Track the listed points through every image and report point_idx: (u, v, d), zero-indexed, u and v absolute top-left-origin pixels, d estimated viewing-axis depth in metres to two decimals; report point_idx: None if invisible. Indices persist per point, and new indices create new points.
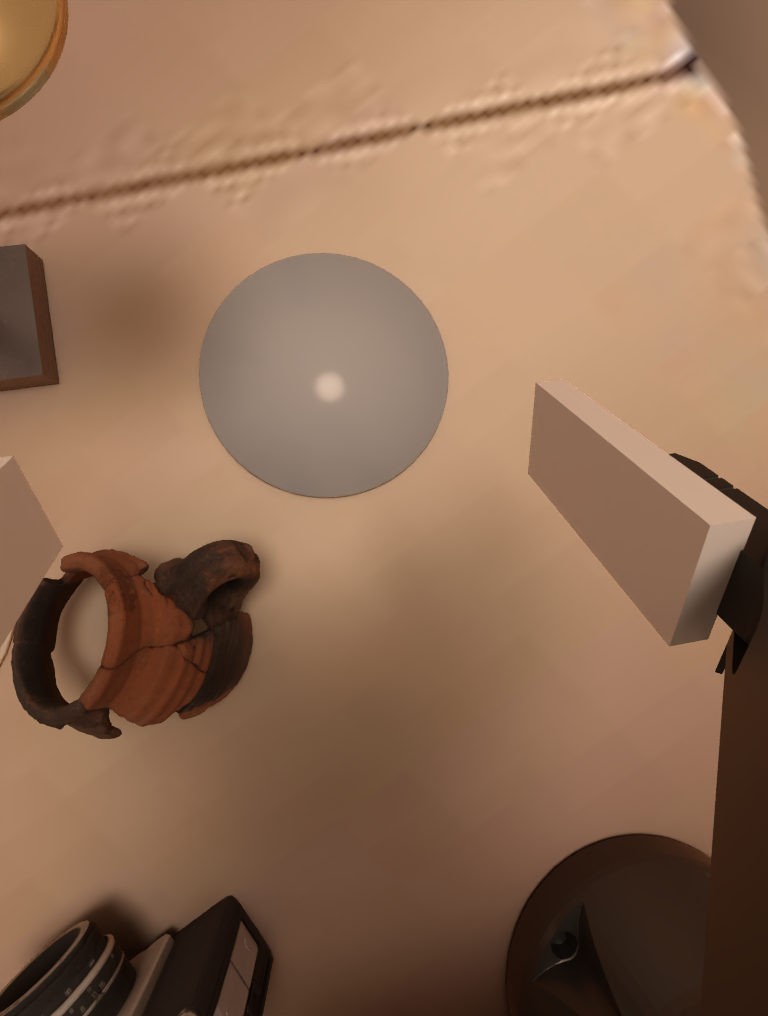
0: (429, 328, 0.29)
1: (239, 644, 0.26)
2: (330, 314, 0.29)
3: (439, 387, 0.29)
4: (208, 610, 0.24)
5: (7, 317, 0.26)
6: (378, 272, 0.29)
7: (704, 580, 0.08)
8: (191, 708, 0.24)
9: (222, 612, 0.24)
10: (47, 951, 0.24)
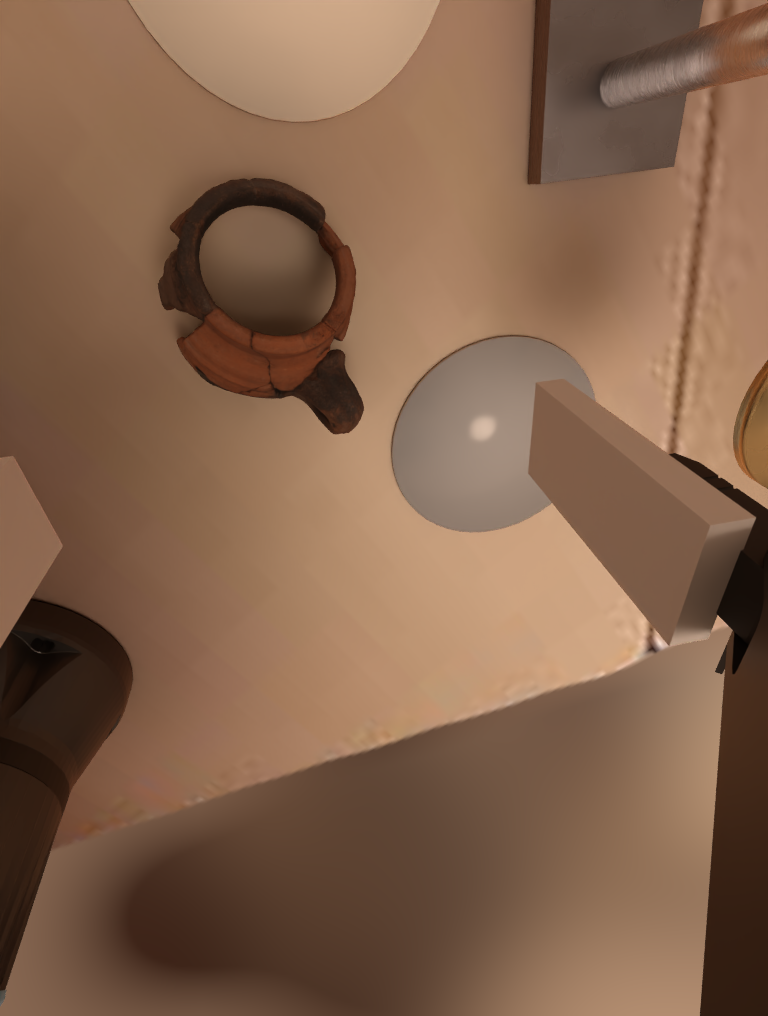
0: (518, 517, 0.37)
1: None
2: None
3: (472, 526, 0.37)
4: None
5: (606, 142, 0.24)
6: None
7: (704, 580, 0.08)
8: (200, 374, 0.24)
9: (293, 394, 0.26)
10: None
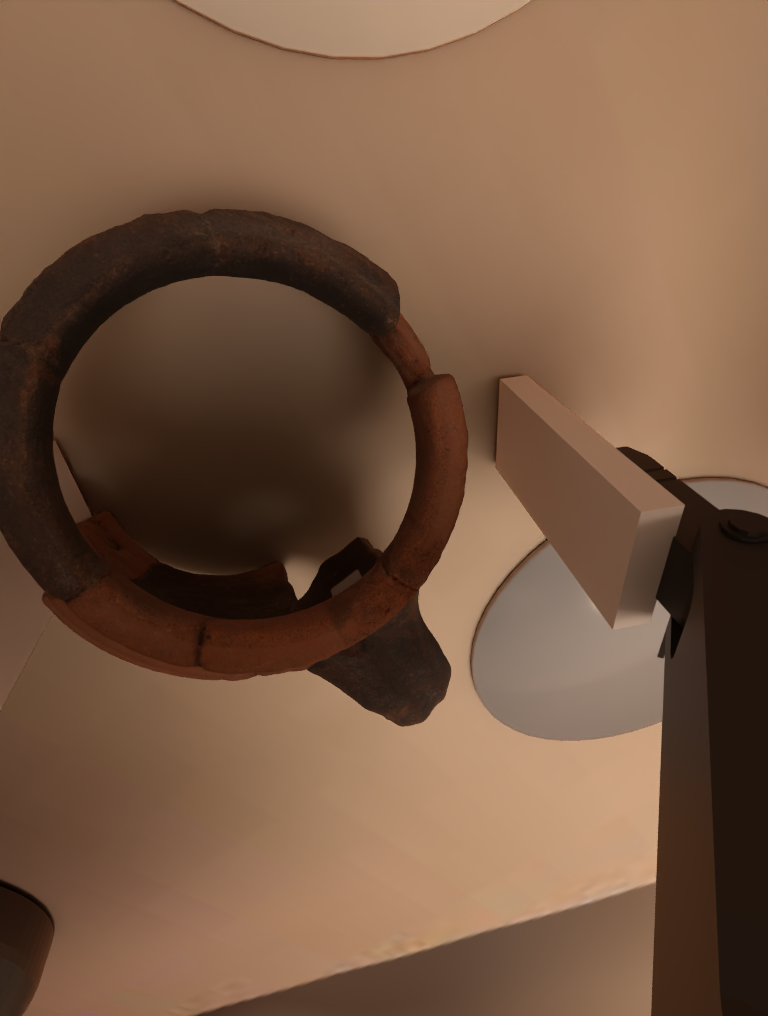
0: (653, 719, 0.24)
1: None
2: None
3: (582, 734, 0.24)
4: None
5: None
6: None
7: (640, 565, 0.09)
8: None
9: None
10: None
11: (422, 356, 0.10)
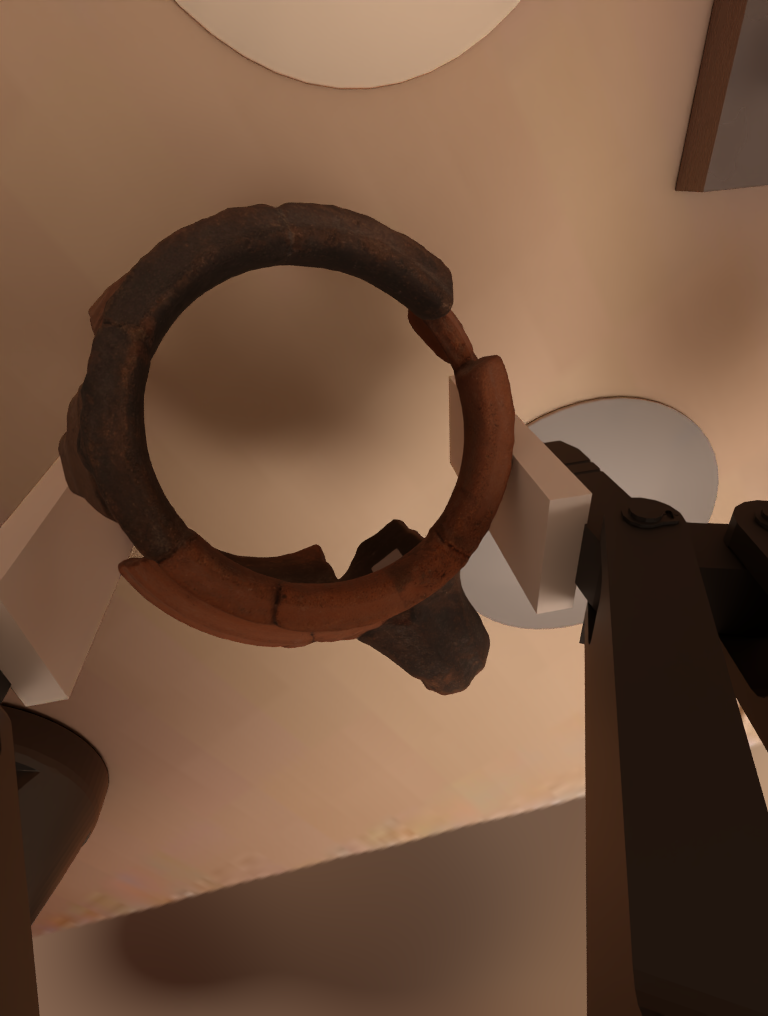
0: None
1: None
2: None
3: (538, 623, 0.29)
4: None
5: None
6: None
7: (556, 551, 0.09)
8: None
9: None
10: None
11: (467, 341, 0.11)
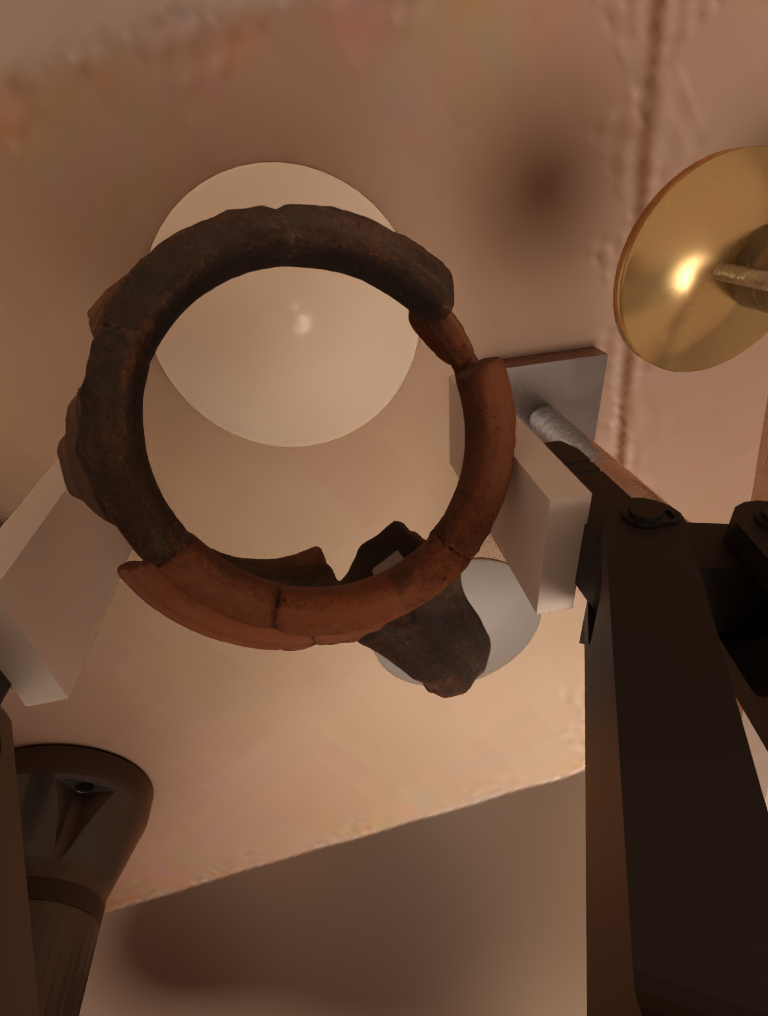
0: None
1: None
2: (497, 628, 0.42)
3: None
4: None
5: None
6: (519, 649, 0.43)
7: (556, 551, 0.09)
8: None
9: None
10: None
11: (467, 342, 0.11)
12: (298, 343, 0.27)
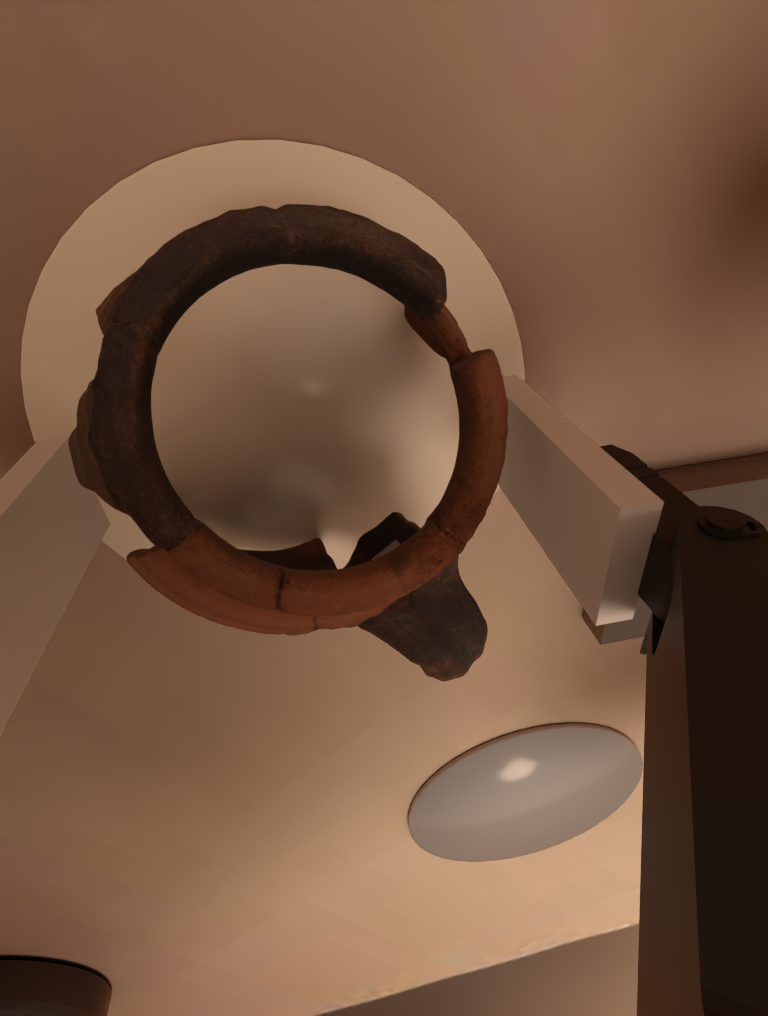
0: (547, 845, 0.33)
1: None
2: (580, 797, 0.30)
3: (495, 857, 0.33)
4: None
5: None
6: (605, 816, 0.32)
7: (621, 562, 0.09)
8: None
9: None
10: None
11: (461, 336, 0.11)
12: (311, 462, 0.15)
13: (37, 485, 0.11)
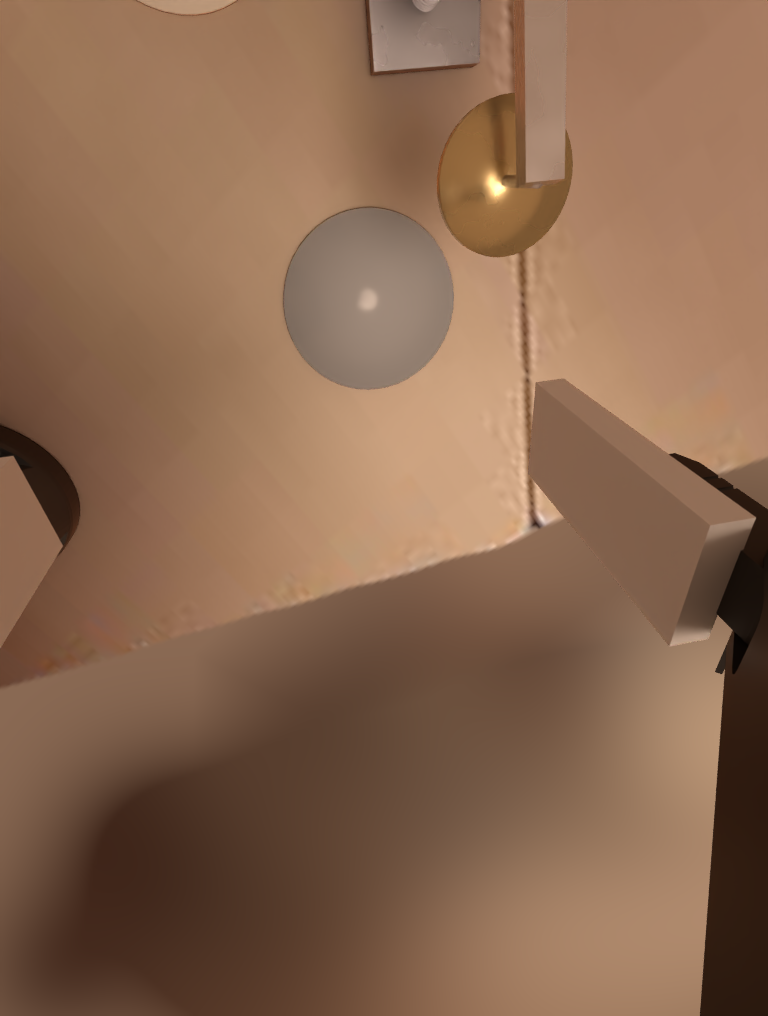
0: (398, 378, 0.45)
1: None
2: (411, 311, 0.42)
3: (359, 383, 0.45)
4: None
5: (422, 40, 0.32)
6: (436, 345, 0.44)
7: (704, 580, 0.08)
8: None
9: None
10: None
11: None
12: None
13: None
